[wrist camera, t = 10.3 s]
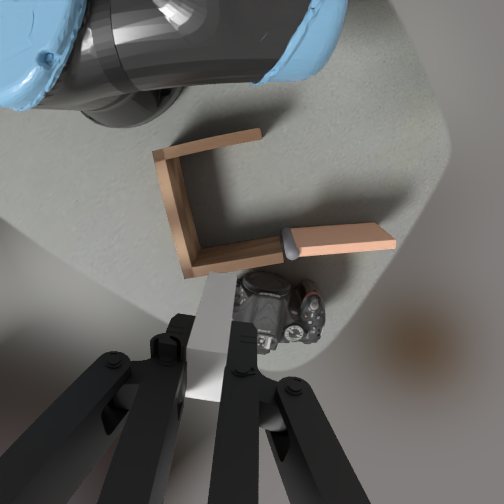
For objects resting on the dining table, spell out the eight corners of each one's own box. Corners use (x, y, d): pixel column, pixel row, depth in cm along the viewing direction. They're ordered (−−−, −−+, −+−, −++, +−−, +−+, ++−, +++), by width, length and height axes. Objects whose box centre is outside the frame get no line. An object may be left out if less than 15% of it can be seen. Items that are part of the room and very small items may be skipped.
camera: (311, 250, 41) (326, 284, 32) (322, 315, 44) (336, 359, 35) (210, 271, 42) (198, 310, 33) (230, 333, 46) (224, 380, 36)
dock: (167, 148, 37) (152, 151, 31) (259, 129, 36) (259, 127, 30) (193, 259, 42) (184, 278, 36) (280, 244, 41) (283, 262, 35)
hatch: (374, 220, 39) (397, 238, 32) (374, 235, 40) (395, 256, 33) (280, 227, 40) (285, 247, 33) (281, 242, 40) (286, 266, 33)
